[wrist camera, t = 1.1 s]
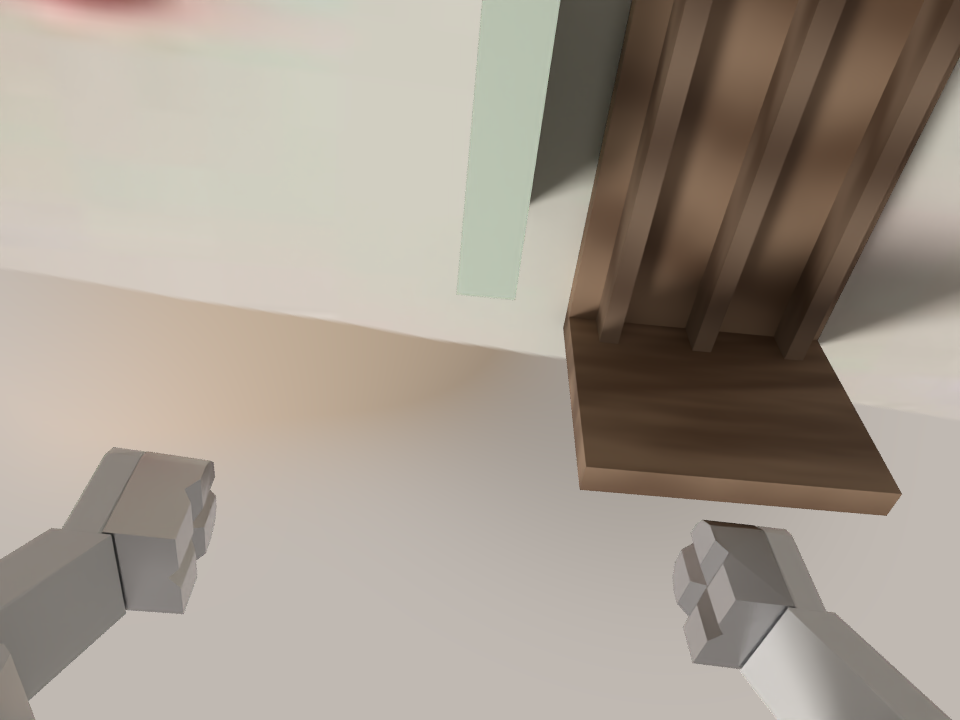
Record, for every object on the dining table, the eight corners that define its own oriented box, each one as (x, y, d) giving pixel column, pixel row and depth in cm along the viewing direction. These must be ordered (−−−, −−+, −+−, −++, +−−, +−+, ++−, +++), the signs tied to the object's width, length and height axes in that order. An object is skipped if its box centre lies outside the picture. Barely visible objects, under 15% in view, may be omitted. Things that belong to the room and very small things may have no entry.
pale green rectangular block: (488, -62, 29) (483, -18, 23) (549, -55, 29) (561, -9, 23) (464, 206, 36) (456, 294, 30) (513, 211, 36) (514, 299, 30)
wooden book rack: (689, -275, 24) (800, -305, 15) (1082, -226, 25) (1420, -227, 16) (563, 328, 41) (579, 489, 32) (801, 350, 41) (886, 515, 32)
